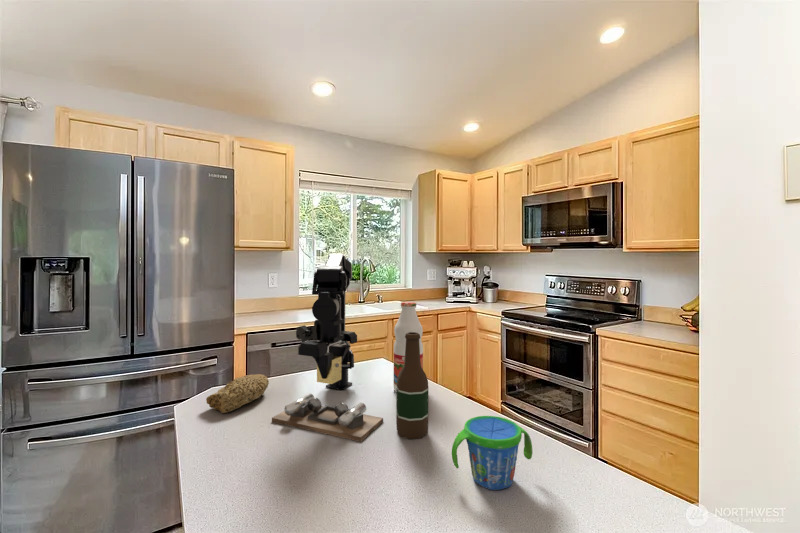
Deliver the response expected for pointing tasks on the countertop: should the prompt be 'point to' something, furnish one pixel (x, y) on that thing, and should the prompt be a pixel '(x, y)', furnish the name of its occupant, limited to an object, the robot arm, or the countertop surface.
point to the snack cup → (492, 449)
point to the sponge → (238, 393)
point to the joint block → (331, 371)
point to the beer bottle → (412, 393)
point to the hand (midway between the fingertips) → (329, 375)
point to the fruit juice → (404, 325)
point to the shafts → (315, 406)
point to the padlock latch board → (330, 422)
